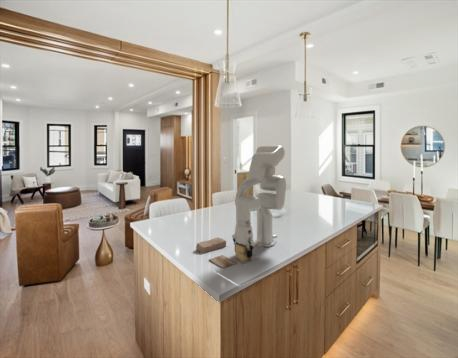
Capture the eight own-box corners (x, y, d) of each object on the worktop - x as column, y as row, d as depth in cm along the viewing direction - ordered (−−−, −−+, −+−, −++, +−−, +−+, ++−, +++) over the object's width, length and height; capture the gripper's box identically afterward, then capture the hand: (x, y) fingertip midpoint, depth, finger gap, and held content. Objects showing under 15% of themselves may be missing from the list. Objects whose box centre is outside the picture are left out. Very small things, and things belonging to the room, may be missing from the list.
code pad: (244, 253, 144) (244, 252, 144) (258, 259, 135) (258, 258, 135) (228, 258, 137) (228, 257, 137) (242, 265, 129) (242, 264, 129)
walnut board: (222, 257, 139) (222, 255, 139) (237, 264, 130) (237, 262, 129) (208, 261, 133) (208, 259, 133) (222, 269, 124) (222, 267, 124)
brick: (203, 254, 143) (203, 246, 143) (195, 250, 150) (195, 242, 149) (226, 248, 153) (226, 240, 153) (218, 244, 160) (218, 236, 159)
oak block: (243, 254, 140) (243, 242, 140) (251, 258, 136) (251, 245, 135) (235, 257, 137) (235, 244, 136) (243, 261, 132) (242, 248, 131)
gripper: (260, 224, 130) (260, 257, 132) (237, 218, 143) (238, 248, 145) (249, 227, 125) (249, 261, 127) (227, 220, 139) (227, 251, 140)
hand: (243, 254), depth 136 cm, fingers open, 9 cm apart
